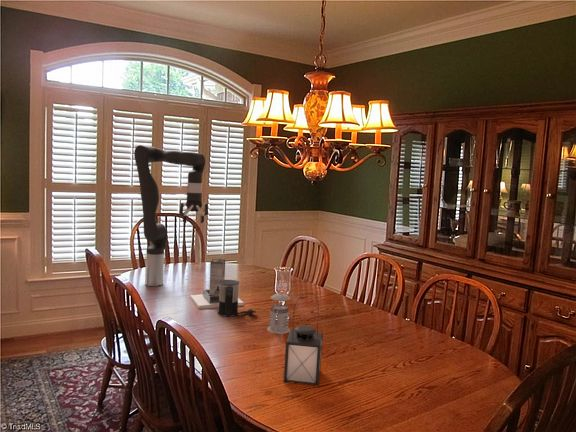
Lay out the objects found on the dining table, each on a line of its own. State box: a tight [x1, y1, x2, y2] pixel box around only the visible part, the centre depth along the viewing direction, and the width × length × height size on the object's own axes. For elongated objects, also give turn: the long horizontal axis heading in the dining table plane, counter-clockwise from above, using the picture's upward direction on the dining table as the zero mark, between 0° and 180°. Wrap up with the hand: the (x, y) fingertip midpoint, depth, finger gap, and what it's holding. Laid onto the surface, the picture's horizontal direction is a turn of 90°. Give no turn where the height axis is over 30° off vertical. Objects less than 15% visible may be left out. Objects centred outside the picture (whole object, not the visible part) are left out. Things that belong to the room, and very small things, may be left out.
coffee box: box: [208, 258, 226, 295], centre depth 229 cm, size 9×6×16 cm
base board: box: [189, 293, 245, 310], centre depth 230 cm, size 22×18×2 cm
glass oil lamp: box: [266, 270, 291, 335], centre depth 193 cm, size 10×12×25 cm
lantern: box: [283, 292, 324, 386], centre depth 151 cm, size 11×11×28 cm
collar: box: [202, 289, 219, 303], centre depth 229 cm, size 10×14×3 cm
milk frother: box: [217, 279, 257, 317], centre depth 212 cm, size 14×16×15 cm
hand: (193, 223), depth 242 cm, fingers open, 8 cm apart
